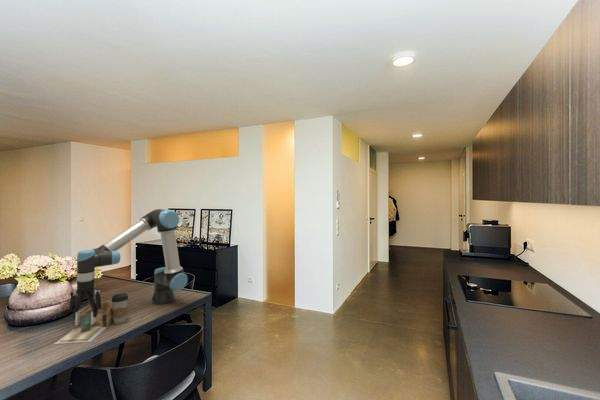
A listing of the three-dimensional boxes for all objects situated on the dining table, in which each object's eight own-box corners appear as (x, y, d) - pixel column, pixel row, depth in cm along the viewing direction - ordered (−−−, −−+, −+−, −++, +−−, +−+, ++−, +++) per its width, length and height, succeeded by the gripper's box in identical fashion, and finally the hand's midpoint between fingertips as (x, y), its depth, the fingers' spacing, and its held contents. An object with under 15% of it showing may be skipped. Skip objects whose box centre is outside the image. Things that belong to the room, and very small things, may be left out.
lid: (101, 328, 156) (102, 311, 156) (87, 340, 142) (87, 322, 142) (77, 329, 154) (77, 312, 154) (60, 342, 140) (60, 323, 140)
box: (119, 315, 174) (119, 301, 174) (106, 327, 158) (106, 311, 158) (92, 316, 171) (92, 302, 171) (76, 328, 155) (76, 313, 155)
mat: (106, 327, 157) (106, 327, 157) (90, 342, 141) (90, 341, 141) (74, 329, 154) (74, 329, 154) (54, 344, 138) (54, 343, 138)
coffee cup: (110, 325, 160) (110, 298, 160) (112, 320, 167) (112, 294, 167) (127, 323, 163) (127, 296, 163) (128, 317, 171) (128, 292, 171)
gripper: (109, 277, 156) (109, 319, 156) (69, 278, 153) (69, 321, 153) (102, 281, 149) (102, 325, 149) (60, 282, 145) (59, 328, 145)
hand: (85, 323), depth 151 cm, fingers open, 7 cm apart
